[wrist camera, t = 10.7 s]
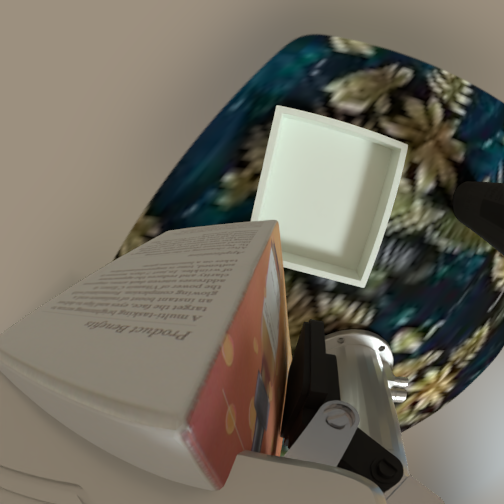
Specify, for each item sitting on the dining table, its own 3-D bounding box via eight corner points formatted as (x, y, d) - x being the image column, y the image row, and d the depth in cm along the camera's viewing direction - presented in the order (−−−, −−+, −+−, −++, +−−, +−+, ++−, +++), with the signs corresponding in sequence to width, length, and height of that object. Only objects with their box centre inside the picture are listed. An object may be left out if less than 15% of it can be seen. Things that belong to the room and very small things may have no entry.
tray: (397, 146, 22) (408, 144, 19) (358, 275, 27) (364, 288, 24) (279, 111, 23) (276, 105, 21) (248, 246, 28) (242, 256, 25)
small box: (293, 359, 14) (266, 545, 4) (199, 357, 15) (119, 507, 6) (280, 215, 12) (189, 436, 2) (166, 227, 13) (-22, 346, 3)
